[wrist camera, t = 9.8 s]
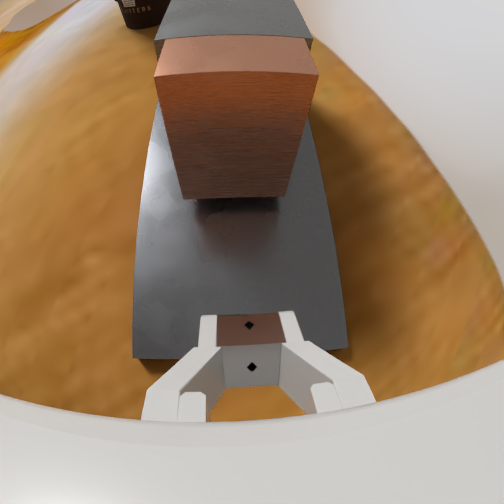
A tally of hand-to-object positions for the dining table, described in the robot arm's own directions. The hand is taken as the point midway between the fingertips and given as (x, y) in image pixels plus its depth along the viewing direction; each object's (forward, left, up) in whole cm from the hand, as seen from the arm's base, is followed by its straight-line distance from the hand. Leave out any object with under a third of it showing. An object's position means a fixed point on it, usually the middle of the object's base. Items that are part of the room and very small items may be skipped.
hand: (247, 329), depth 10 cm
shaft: (-13, +11, -5) cm, 18 cm away
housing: (-11, +9, -7) cm, 16 cm away
